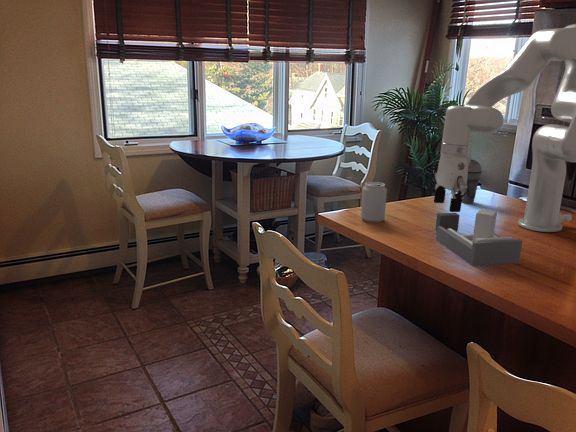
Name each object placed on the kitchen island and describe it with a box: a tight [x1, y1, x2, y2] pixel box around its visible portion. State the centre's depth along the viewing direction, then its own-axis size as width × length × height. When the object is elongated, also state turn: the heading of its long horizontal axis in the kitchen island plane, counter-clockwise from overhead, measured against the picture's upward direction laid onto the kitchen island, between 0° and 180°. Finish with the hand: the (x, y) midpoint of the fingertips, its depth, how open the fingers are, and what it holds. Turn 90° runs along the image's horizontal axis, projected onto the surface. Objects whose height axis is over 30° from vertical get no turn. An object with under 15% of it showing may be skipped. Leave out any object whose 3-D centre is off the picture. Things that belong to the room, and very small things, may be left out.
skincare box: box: [471, 207, 498, 242], centre depth 139 cm, size 6×4×12 cm
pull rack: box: [435, 212, 514, 246], centre depth 147 cm, size 10×26×6 cm, turn 11°
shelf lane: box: [435, 226, 523, 267], centre depth 143 cm, size 13×20×6 cm, turn 11°
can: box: [360, 181, 388, 224], centre depth 168 cm, size 8×8×12 cm
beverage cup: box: [461, 146, 482, 205], centre depth 190 cm, size 7×7×20 cm
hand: (446, 207), depth 157 cm, fingers open, 9 cm apart
